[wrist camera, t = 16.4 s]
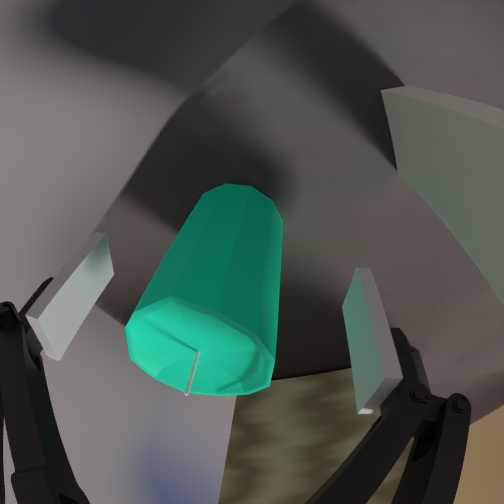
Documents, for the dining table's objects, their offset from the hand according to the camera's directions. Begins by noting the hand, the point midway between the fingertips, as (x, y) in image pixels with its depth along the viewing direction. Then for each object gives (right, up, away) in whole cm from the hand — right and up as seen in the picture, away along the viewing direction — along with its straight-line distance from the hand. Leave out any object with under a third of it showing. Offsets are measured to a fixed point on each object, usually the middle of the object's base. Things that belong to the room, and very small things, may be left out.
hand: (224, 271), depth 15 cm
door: (+8, -12, +12) cm, 19 cm away
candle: (0, +3, +4) cm, 5 cm away
